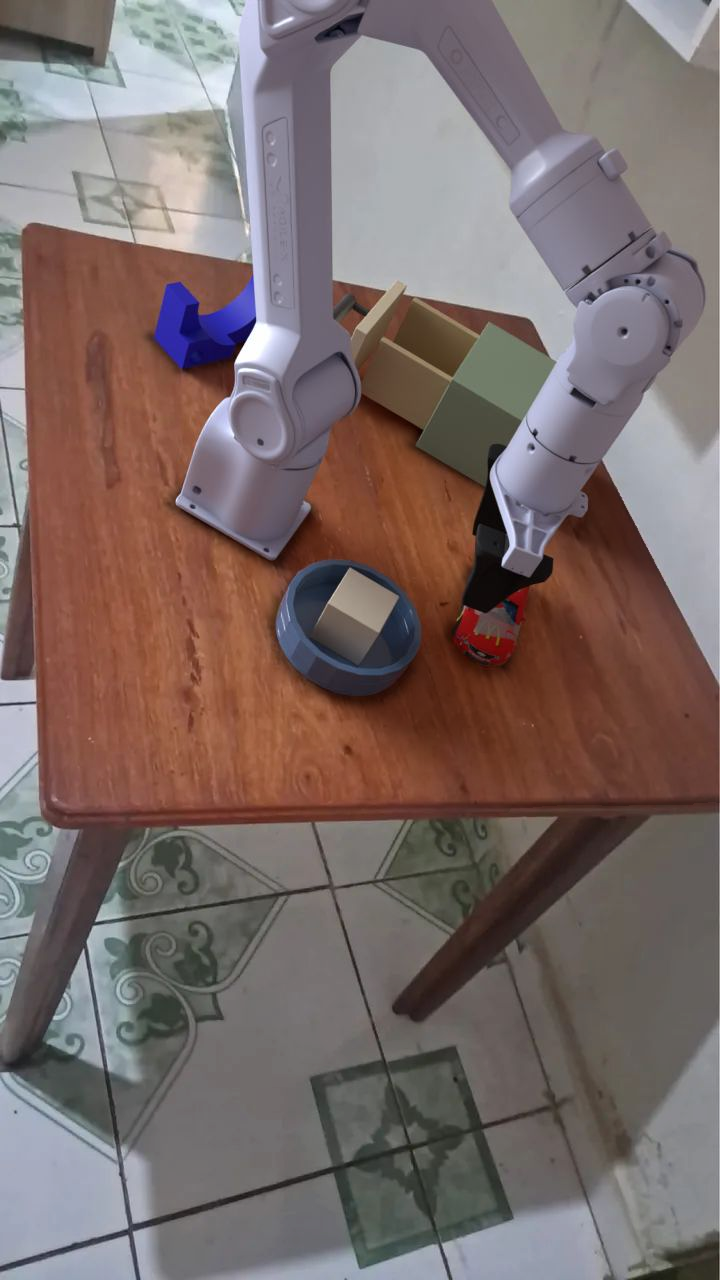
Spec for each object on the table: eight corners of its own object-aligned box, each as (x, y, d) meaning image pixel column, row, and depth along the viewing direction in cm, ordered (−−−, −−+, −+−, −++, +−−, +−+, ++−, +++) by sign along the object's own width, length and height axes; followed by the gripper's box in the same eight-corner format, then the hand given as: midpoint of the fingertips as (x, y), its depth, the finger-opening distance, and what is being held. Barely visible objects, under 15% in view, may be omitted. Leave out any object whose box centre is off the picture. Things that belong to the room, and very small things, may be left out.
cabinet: (415, 446, 94) (451, 379, 88) (453, 386, 103) (489, 321, 96) (541, 520, 95) (587, 459, 88) (569, 455, 103) (612, 394, 97)
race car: (498, 681, 80) (520, 655, 77) (441, 651, 80) (461, 624, 77) (529, 581, 89) (550, 554, 86) (478, 553, 88) (497, 525, 85)
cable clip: (181, 369, 89) (196, 316, 84) (153, 338, 90) (166, 284, 85) (277, 345, 96) (295, 295, 92) (250, 316, 97) (267, 265, 93)
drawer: (297, 363, 94) (319, 306, 89) (341, 315, 101) (363, 259, 96) (449, 453, 94) (480, 401, 89) (481, 398, 102) (511, 347, 97)
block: (309, 637, 75) (327, 602, 71) (331, 601, 78) (350, 567, 74) (358, 666, 75) (379, 633, 71) (378, 629, 78) (399, 596, 74)
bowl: (251, 647, 73) (262, 624, 71) (310, 560, 80) (321, 537, 78) (377, 720, 73) (392, 700, 71) (424, 627, 80) (439, 606, 78)
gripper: (622, 528, 57) (521, 659, 67) (621, 394, 67) (533, 526, 77) (515, 485, 56) (429, 625, 66) (529, 355, 66) (453, 494, 76)
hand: (479, 569), depth 72 cm, fingers open, 7 cm apart
